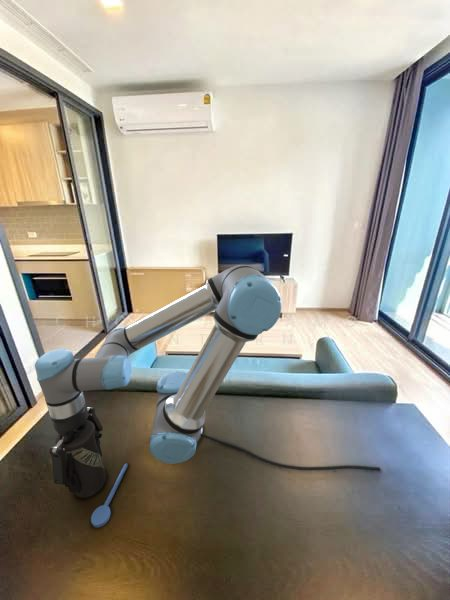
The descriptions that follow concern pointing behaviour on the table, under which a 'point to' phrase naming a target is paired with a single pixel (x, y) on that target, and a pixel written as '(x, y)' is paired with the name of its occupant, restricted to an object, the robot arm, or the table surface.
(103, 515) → the spoon
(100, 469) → the container
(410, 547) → the table surface
